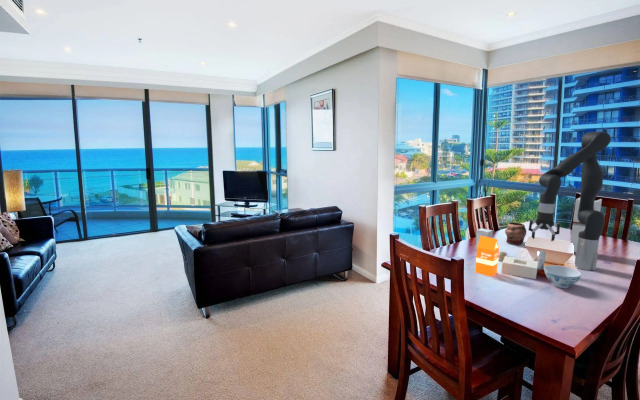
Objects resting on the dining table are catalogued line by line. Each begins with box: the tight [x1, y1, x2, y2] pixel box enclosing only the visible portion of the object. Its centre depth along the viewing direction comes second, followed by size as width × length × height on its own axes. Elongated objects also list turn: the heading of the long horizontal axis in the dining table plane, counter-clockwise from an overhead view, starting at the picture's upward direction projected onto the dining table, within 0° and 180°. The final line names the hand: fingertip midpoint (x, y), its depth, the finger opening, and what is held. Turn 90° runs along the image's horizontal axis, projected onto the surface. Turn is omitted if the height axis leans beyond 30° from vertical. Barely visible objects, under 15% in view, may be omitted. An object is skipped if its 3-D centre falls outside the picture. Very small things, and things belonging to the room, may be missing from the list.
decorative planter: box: [504, 222, 527, 246], centre depth 238 cm, size 20×12×14 cm, turn 132°
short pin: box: [498, 251, 508, 263], centre depth 205 cm, size 4×4×5 cm
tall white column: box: [570, 197, 603, 256], centre depth 212 cm, size 11×11×35 cm
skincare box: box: [475, 227, 494, 252], centre depth 219 cm, size 8×6×15 cm
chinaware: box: [543, 264, 582, 289], centre depth 170 cm, size 15×15×8 cm
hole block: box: [500, 256, 538, 280], centre depth 187 cm, size 16×12×6 cm
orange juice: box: [474, 236, 500, 278], centre depth 186 cm, size 8×9×20 cm
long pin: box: [535, 250, 546, 271], centre depth 191 cm, size 4×4×10 cm
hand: (542, 239), depth 189 cm, fingers open, 8 cm apart
